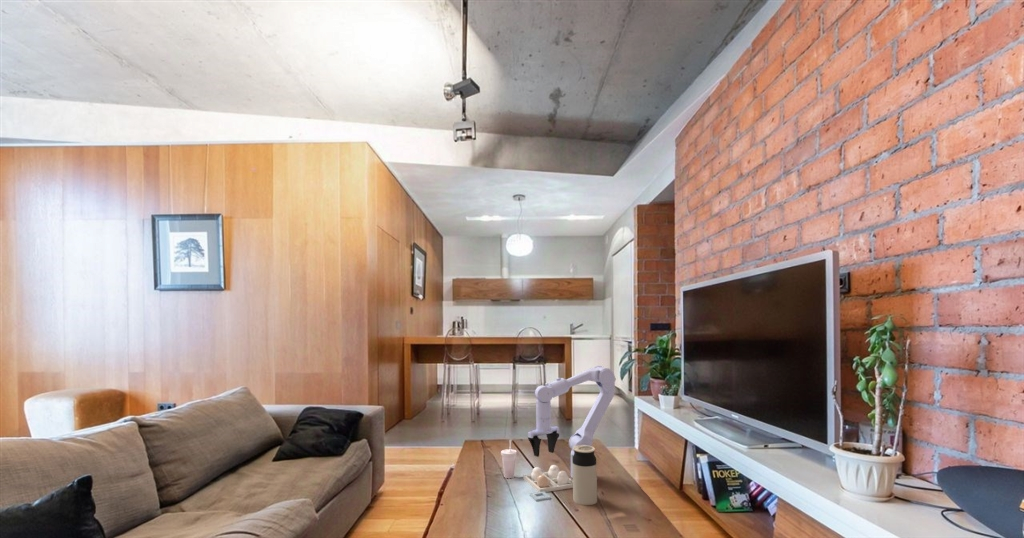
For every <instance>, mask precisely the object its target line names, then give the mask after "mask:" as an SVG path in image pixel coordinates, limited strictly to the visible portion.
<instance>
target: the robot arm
mask: <svg viewBox="0 0 1024 538" xmlns="http://www.w3.org/2000/svg"><path fill="white" fill-rule="evenodd" d="M616 380H617V379H616V376H615V374H614V372H613V370H612V369H611V368H609V367H608V368H607V367H604V366H603V365H602V366H601V365H597V366H595V367H590V368H588V369H586V370H584V371H581V372H579V373H577V374H575V375H573V376H571V377H568V378H567V379H566V378H564V377H557V378H555V380H554V381H551V382H546V383H545V385H542V384H541V385H539V386H537V387H536V389H535V390H534V397H535V400H536V401H535V402H536V404H535V405H536V406H535V410H536V411H535V422H536V423H535V427H536V429H533V430H531V431H528V432H527V440H528V441H529V443H530V446H531V449H532V451H533V456H534V457H537V458H539V457H540V448H541V442H542V438H540V437H539V436H544V435H546V438H547V450H548V452H549V453H551V454H553V453H555V448H556V444H557V441H558V439H559V437H560V433H559V432H560V427H559V426H556V425H555V426H552V408H551V407H552V405H551V400H552V399H553V398H557V397H559V396H561V395H564V394H566V393H568V392H569V390H570V388H572V387H574V386H578V385H580V384H582V383H585V382H588V381H589V382H595V383H596V385H597V388H598V390H599V394H598V395H597V397H596V399H595V401H594V403H593V404H592V407H591V408H590V410H589V412H588V414H587V415H586V418H585V420H584V422H583V423H582V425H581V427H579V428H578V429H577V430H576V431H575V433H574V434H573V435H571V436H570V438H569V440H568V446H569V448H570V449H571V451H570V478H571V479H573V455H574V450H573V447H575V446H578V445H588V446H593V443H594V434H595V432H596V430H597V428H598V426H599V424H600V423H601V421H602V419H603V417H604V415H605V413H606V411H607V410H608V408H609V406H610V404H611V402H612V400H613V398H614V397H615V389H616V388H615V386H616V385H615V382H616ZM597 480H598V478H597Z"/></svg>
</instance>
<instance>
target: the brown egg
mask: <svg viewBox="0 0 1024 538" xmlns="http://www.w3.org/2000/svg"><path fill="white" fill-rule="evenodd" d="M547 477H548V476H547ZM547 477H546V476H545V475H539V476H538V478H537V486H539V487H540V488H546V487H550V485H551V484H550V482H549V479H548V478H549V477H548V478H547Z"/></svg>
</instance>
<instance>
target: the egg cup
mask: <svg viewBox="0 0 1024 538" xmlns="http://www.w3.org/2000/svg"><path fill="white" fill-rule="evenodd" d="M529 496H530V497H531V499H533V500H534V501H535V502H539V501H547V500H551V499H552V496H550V495H549V494H548V492H544V491H542V492H538V491H536V492H531V493H529ZM539 496H540V497H539Z"/></svg>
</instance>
